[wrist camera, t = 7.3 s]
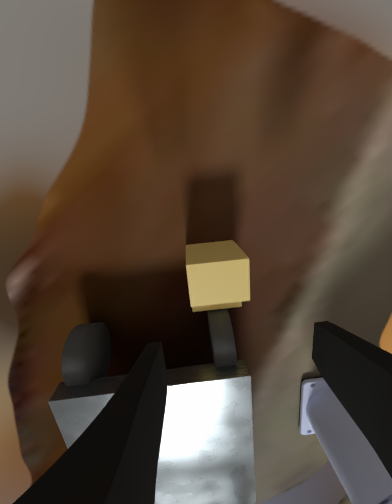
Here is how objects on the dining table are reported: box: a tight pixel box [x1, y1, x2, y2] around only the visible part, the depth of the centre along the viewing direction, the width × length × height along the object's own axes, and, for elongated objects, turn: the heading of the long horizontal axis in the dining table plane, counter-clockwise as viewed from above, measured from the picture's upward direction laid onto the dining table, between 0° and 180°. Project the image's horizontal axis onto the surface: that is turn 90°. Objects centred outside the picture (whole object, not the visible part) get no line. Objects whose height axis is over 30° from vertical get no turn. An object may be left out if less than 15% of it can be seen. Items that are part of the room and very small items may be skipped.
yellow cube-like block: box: [186, 240, 250, 312], centre depth 17 cm, size 4×5×5 cm
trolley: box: [48, 308, 256, 504], centre depth 16 cm, size 14×24×16 cm, turn 6°
